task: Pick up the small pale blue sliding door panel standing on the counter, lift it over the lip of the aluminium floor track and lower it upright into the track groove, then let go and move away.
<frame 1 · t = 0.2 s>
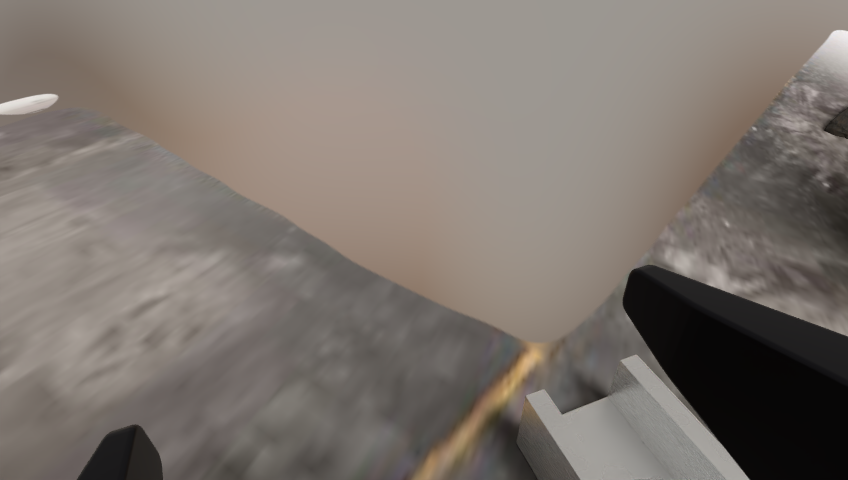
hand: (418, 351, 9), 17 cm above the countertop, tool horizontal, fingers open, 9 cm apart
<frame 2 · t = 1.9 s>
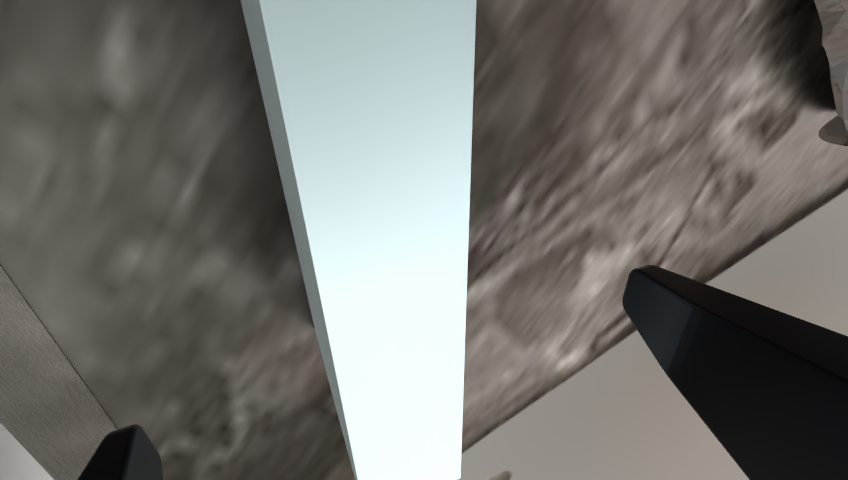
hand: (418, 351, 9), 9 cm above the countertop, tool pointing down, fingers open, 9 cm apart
door panel: (321, 140, 16), on the countertop
when the fingers open (5 cm above the countertop, at t = 7.7 s): door panel drops 2 cm, resting on floor track.
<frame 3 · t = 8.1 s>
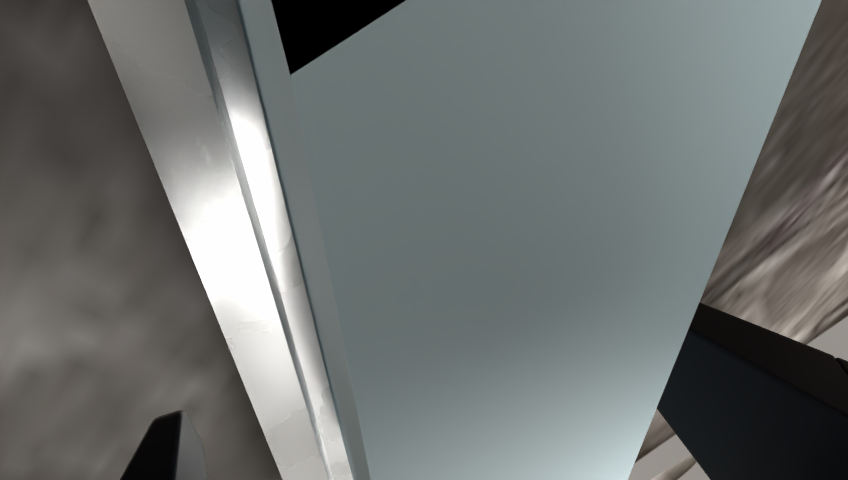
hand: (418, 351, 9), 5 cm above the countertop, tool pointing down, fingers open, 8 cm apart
floor track: (347, 200, 13), on the countertop
door panel: (353, 219, 12), point 1 cm above the countertop, touching floor track
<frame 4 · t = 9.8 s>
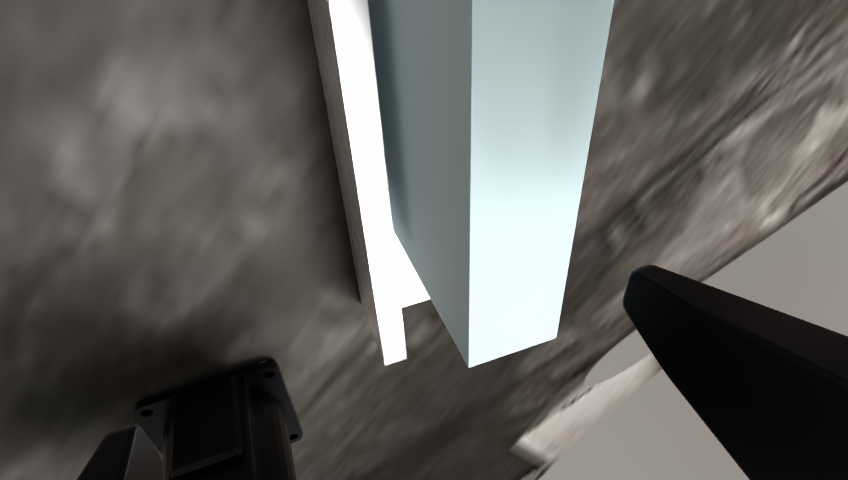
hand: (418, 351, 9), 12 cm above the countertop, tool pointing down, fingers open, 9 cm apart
floor track: (403, 10, 17), on the countertop
door panel: (410, 16, 16), point 1 cm above the countertop, touching floor track
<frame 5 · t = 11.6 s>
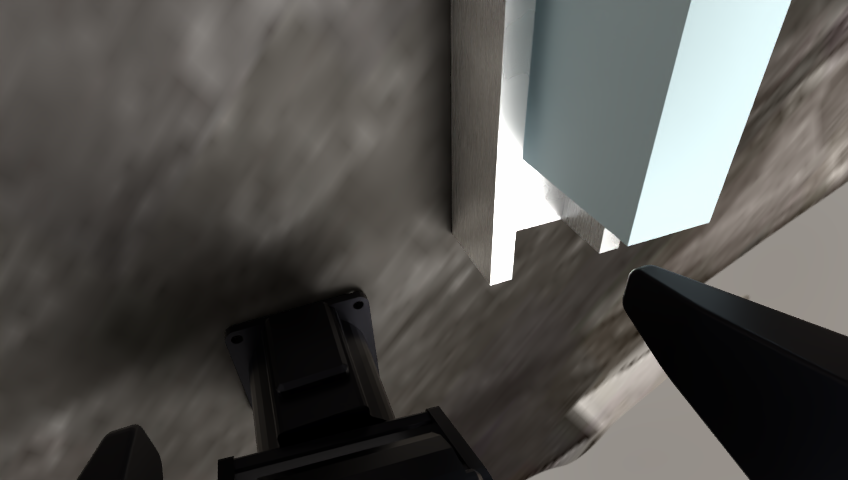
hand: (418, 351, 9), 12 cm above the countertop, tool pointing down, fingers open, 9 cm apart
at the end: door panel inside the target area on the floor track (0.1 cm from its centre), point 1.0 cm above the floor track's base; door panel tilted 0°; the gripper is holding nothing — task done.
